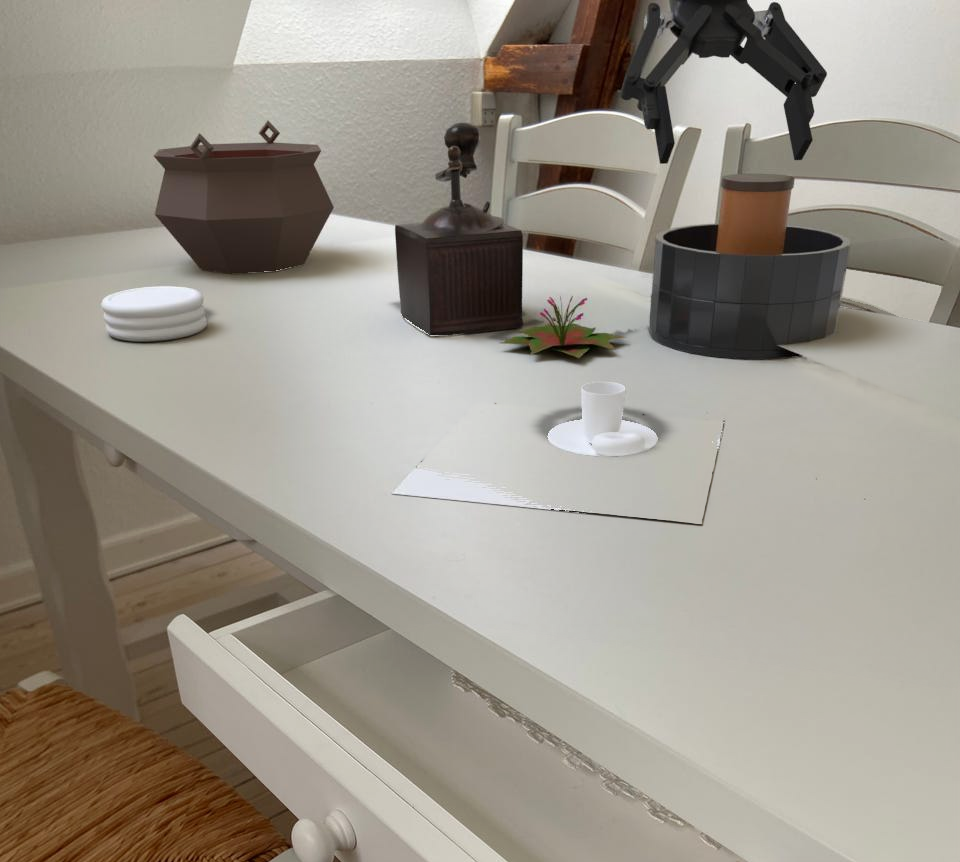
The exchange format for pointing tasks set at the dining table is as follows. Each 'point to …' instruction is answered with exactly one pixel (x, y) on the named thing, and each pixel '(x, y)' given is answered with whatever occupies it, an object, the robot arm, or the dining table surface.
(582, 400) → the teacup and saucer
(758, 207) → the travel tumbler
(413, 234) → the coffee grinder
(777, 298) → the pot
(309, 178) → the brown cauldron
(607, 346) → the lily flower
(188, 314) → the coaster
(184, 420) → the dining table surface
